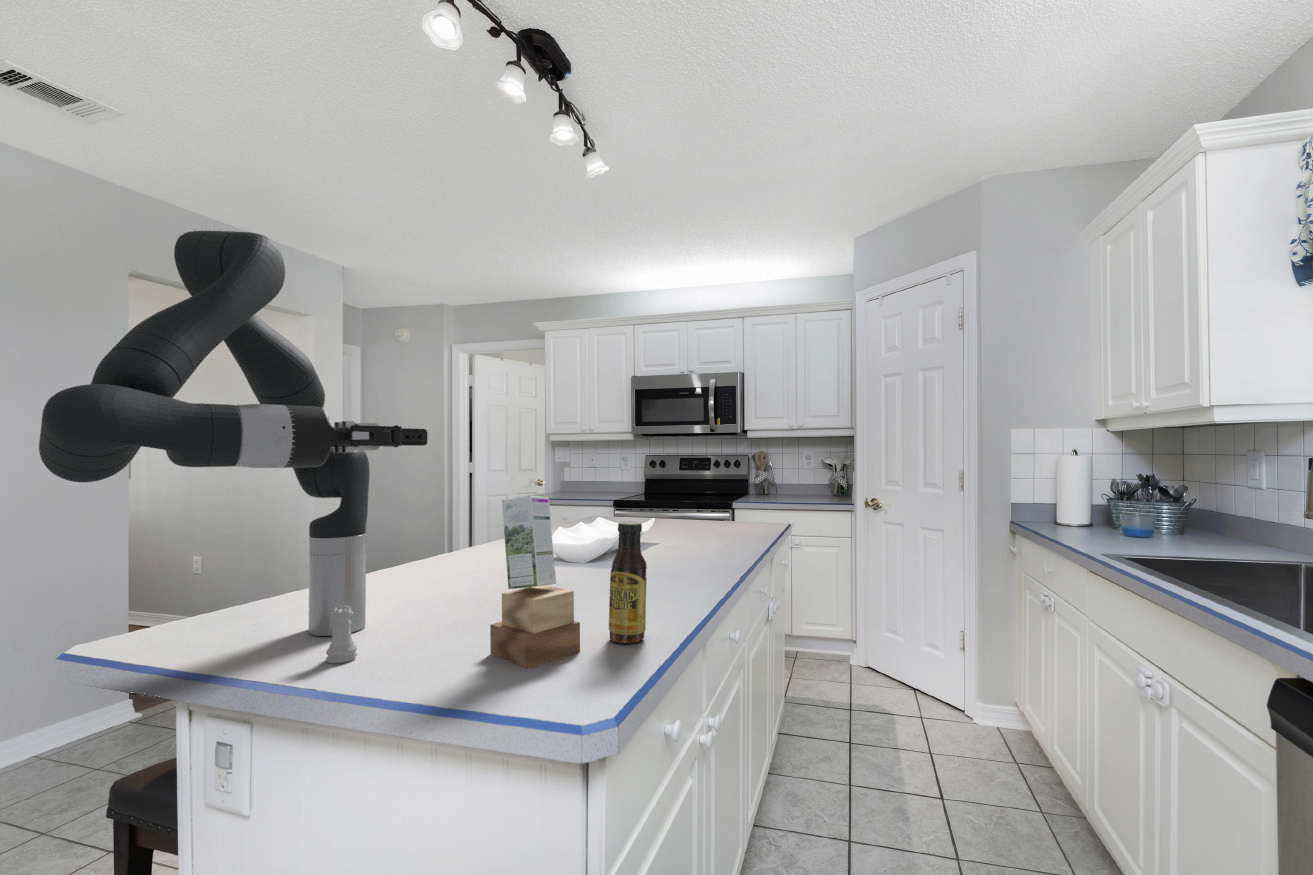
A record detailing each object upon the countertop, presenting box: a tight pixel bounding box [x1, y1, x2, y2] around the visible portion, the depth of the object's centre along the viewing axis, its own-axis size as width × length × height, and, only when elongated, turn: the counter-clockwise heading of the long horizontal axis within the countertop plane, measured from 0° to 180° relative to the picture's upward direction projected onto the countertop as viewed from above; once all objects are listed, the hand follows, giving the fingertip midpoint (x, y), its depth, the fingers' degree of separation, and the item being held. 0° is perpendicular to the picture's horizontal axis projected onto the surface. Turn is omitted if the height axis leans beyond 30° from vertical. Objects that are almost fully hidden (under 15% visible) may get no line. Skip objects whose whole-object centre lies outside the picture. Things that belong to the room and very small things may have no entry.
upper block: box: [501, 585, 575, 634], centre depth 97 cm, size 8×8×5 cm
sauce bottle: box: [608, 521, 648, 645], centre depth 104 cm, size 7×6×20 cm
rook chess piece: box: [325, 606, 358, 665], centre depth 95 cm, size 4×4×8 cm
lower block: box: [489, 620, 581, 670], centre depth 97 cm, size 10×10×5 cm
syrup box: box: [501, 494, 557, 590], centre depth 99 cm, size 6×6×14 cm
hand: (411, 438), depth 84 cm, fingers open, 8 cm apart
